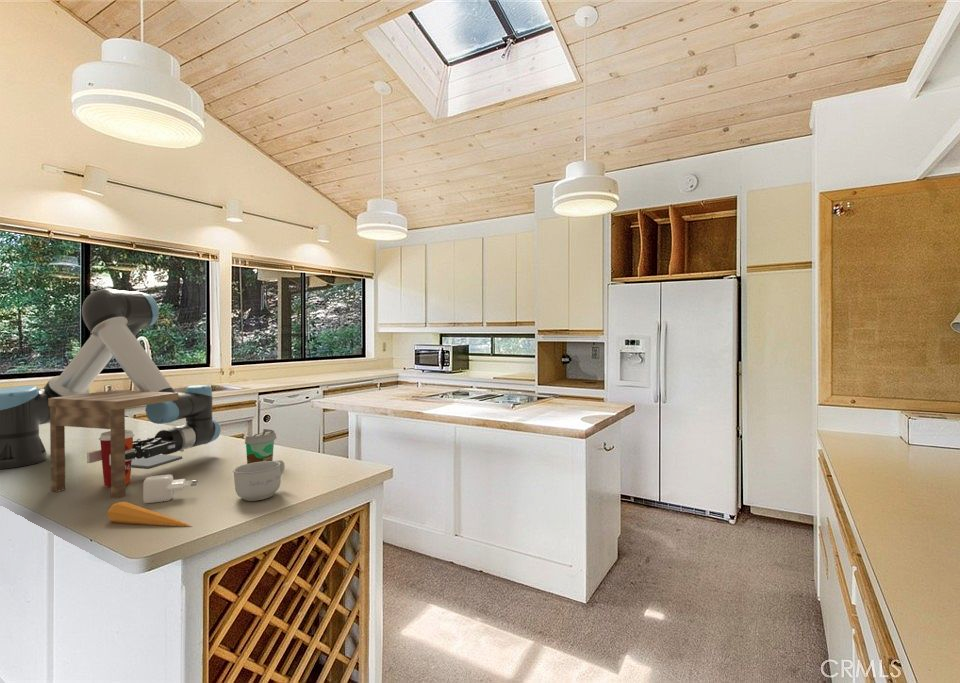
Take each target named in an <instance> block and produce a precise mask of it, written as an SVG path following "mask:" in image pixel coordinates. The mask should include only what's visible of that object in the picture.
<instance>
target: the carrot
mask: <svg viewBox="0 0 960 683" xmlns="http://www.w3.org/2000/svg"><path fill="white" fill-rule="evenodd" d="M107 518H108V520H110V521H112V522H113V523H117V524H128V525H129V524H130V525H132V524H133V525H147V526H148V525H149V526H160V525H166V526H165V527H184V526H191V525H190V524H187V523H186V522H183V521H180V520H178V519H176V518H173V517H171V516H167V515H165V514H162V513H159V512H157V511H153V510H151V509H147V508H144V507H142V506H138V505H136V504H133V503H130V502H128V501H119V502H115V503H114V504H112V505H111V506H110V508H109V509H108V510H107ZM167 525H169V526H167ZM176 525H178V526H176Z"/></svg>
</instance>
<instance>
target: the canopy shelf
mask: <svg viewBox="0 0 960 683" xmlns="http://www.w3.org/2000/svg"><path fill="white" fill-rule="evenodd" d="M178 395H179V392H176V393H173V392H149V391H138V390H125V389H123V390H122V389H112V390H107V391H105V390H104V391H100V392H99V391H98V392H97V391H96V392H90V393H88V394H80V395H71V396H63V397H54V398H48V404H49V406H50V423H49V426H50V427H49V428H50V431H49V432H50V435H49V436H50V437H49V438H50V439H49V440H50V445H49V446H50V448H49V449H50V451H49V452H50V491H51V492H59V490H60V491H63V490H62V489H64V490H66V450H65V449H66V443H65V441H66V440H65V438H66V436H65V435H66V434H65V432H66V431H65V429H66V427H70V428H89V429H100V430H102V429H103V430H110V431H111V487H110V497H111V498H113V499H119V498H122V497H125V496H126V485H125V430H126V426H125V424H126V423H125V422H126V420H125V416H126V414H125V413H126V412H125V409H130V408H137V407H141V406H147V405H149V404H155V403H162V402H168V401H174V400H178Z"/></svg>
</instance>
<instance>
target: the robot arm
mask: <svg viewBox="0 0 960 683" xmlns="http://www.w3.org/2000/svg"><path fill="white" fill-rule="evenodd" d="M159 315H160V310H159V305H158V303H157V301H156V300H155V299H154V297H152V295H150V294H148V293H146V292H145V293H144V292H140V291H138V290H137V291H135V290H134V291H129V290H123V289H122V290H119V289H113V288H103V289H98V290H96V291H93V292H92V293H90V294H89V295H88V296H87V297H86V298H85V300H84V301H83V303H82V307H81V316H82V320H83V322H84V324H85V326H86V328H87V329H88V331H89V332H90V334H91V335H90V336H89V337H88V339H87V340H86V341H85V343H84V344H83V345H82V346H81V348H80V349H79V350H78V352H77V353H76V354H75V356H74V357H73V358H72V359H71V361H70V362H69V363H68V365H67V366H65V368H64V370H63V371H62V372H61V373H60V375H56V376H53V377H51V378H50V379H49V380H48V381H47V383H46V384H45V385H44V387H42V388H39V387H38V386H37V385H19V386H11V387H4V388H0V470H4V469H12V468H13V469H14V468H21V467H26V466H31V465H35V464H39V463H41V462H44V461H46V460H47V456H48V455H47V454H48V452H47V450H46V448H45V446H44V444H43V441H42V439H41V437H40V426H41V425H45V424H50V406H49V404H48V398H54V397H63V396H71V395H80V394H88V393H91V392H90V389H89V388H90V386H91V385H92V383H94V381H95V380H96V378H97V377H98V376H99V375H100V373H101V372H102V371H103V370H104V369H105V367H106V365H108V363H109V362H110V361H111V360H112V359H113V358H114V359H115V360H116V362H117V363H118V365H119V366H120V368H121V369H122V370H123V372H124V373H125V374H126V376H127V377H128V378H129V379H130V381H131V383H132V384H133V386H134V387H135V388H136V389H137V391H149V392H173V393H177V392H176V391H175V389H174V388H173V387H172V386H171V384H170V383H169V382H168V380H167V379H166V377H165V376H164V374H163V373H162V372H161V370H160V369H159V368H158V366H157V365H156V364H155V362H154V361H153V360H152V358H151V356H150V355H149V354H148V353H147V351H146V350H145V348H144V347H143V346H142V344H141V343H140V342H139V340H138V339H137V337H136V336H137V335H138V334H139V332H140V331H141V329H143V328H148V327H151V326H153V325H154V324H155V323H156V322H157V320H158V319H159ZM212 390H213V389H212V386H210V385H206V384H199V385H198V384H197V385H196V384H195V385H194V384H193V385H188V386H186V388H185V392H184V393H182V394H178V400H174V401H168V402H162V403H155V404H149V405H145V415H146V419H147V420H148V421H150V423H153V424H155V425H156V424H157V425H160V424H168V423H172V422H175V421H178V420H179V421H180V420H183V419H185V424H183V425H177V426H174V427H171V428H170V427H169V428H165V429H161V430H159V431H157V433H156V434H155V436H153V437H148V438H146V439H141V438H137V439H133V445H132V449H130V450H126V451H125V462H126V461H129V460H133V459H136V458H138V459H140V458H142V457H144V458H146V459H147V458H150V457H153V456H156V455H171V454H175V453H177V452H181V453H183V452H184V451H185V450H188V449H190V448H191V449H192V448H195V447H198V446H202V445H207V444H209V443H212V442H215V441H216V440H217V439H218V438H219V436H220V434H221V426H220V425H219V422H218V421H216V420H215V419H213V399H214V396H213V391H212ZM109 460H110V465H111V455H109ZM100 461H102V455H101V449H99V450H94V451H89V452H86V464H91V463H96V462H100Z"/></svg>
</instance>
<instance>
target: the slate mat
mask: <svg viewBox="0 0 960 683" xmlns="http://www.w3.org/2000/svg"><path fill="white" fill-rule="evenodd" d="M181 459H183V456H181V455H171V454H168V455H163V454H159V455H156V456H153V457H150V458H147V459H146V458H144V457H142V458H140V459H138V458H135V459H133V460H132V462H131V468H132V467H133V468H140V467H141V468H143V469H151V468H154V467H158V466H160V465H161V466H162V465H164V464H168V463H171V462H174V461H177V460H181Z"/></svg>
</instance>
